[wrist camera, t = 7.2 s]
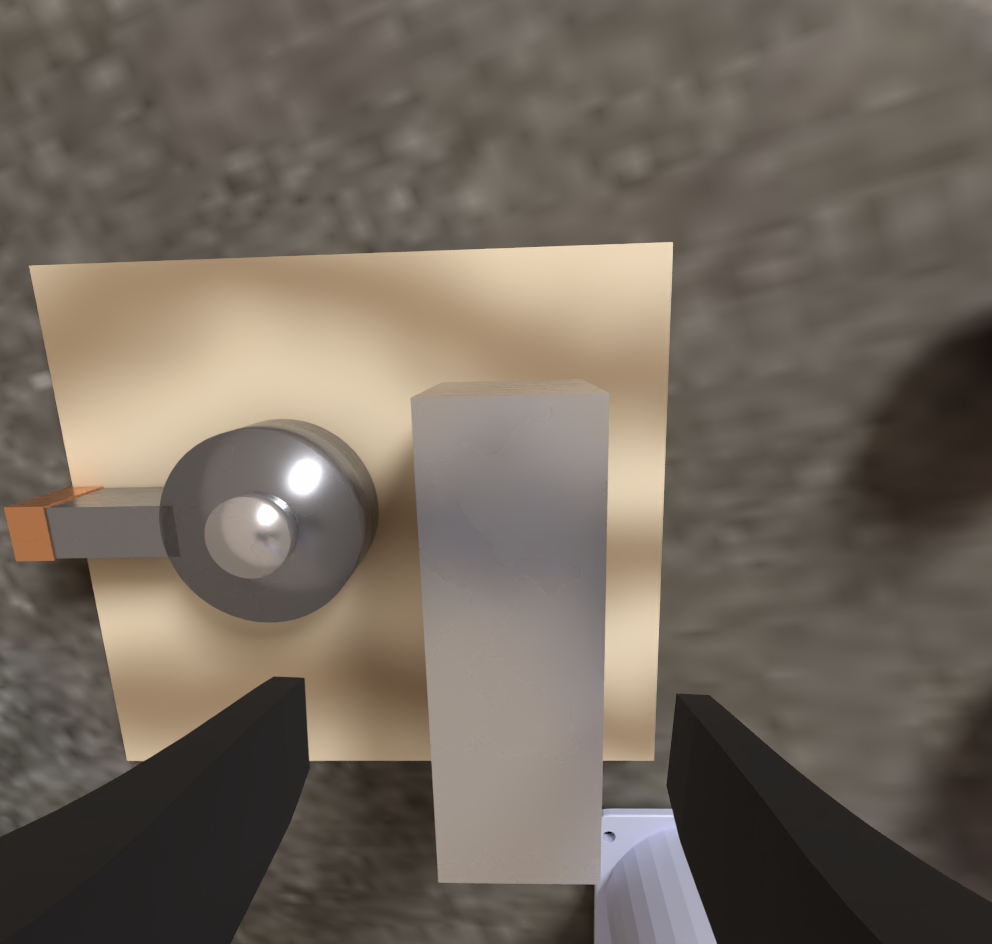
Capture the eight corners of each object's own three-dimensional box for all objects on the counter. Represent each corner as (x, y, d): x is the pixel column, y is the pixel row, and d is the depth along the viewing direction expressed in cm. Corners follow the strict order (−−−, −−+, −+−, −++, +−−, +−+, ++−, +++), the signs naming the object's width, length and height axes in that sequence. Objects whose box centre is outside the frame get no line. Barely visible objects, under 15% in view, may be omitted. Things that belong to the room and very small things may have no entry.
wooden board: (646, 738, 22) (666, 798, 19) (147, 739, 23) (93, 797, 20) (663, 248, 18) (691, 230, 15) (59, 270, 19) (-24, 257, 16)
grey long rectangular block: (578, 744, 19) (600, 884, 14) (458, 743, 19) (438, 882, 14) (581, 378, 16) (609, 393, 11) (441, 381, 16) (410, 397, 11)
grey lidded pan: (372, 416, 18) (341, 431, 15) (385, 588, 20) (360, 634, 16) (56, 424, 19) (-38, 440, 16) (90, 591, 20) (9, 638, 17)
